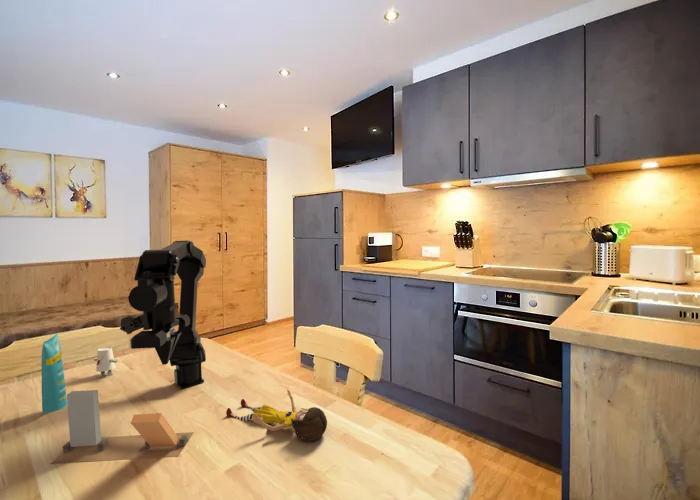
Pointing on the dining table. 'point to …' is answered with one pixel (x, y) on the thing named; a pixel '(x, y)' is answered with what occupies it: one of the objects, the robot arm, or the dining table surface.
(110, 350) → the toy figure
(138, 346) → the robot arm
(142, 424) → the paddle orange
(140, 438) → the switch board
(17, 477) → the dining table surface
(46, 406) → the tube
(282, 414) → the figurine
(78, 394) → the grey tall block
